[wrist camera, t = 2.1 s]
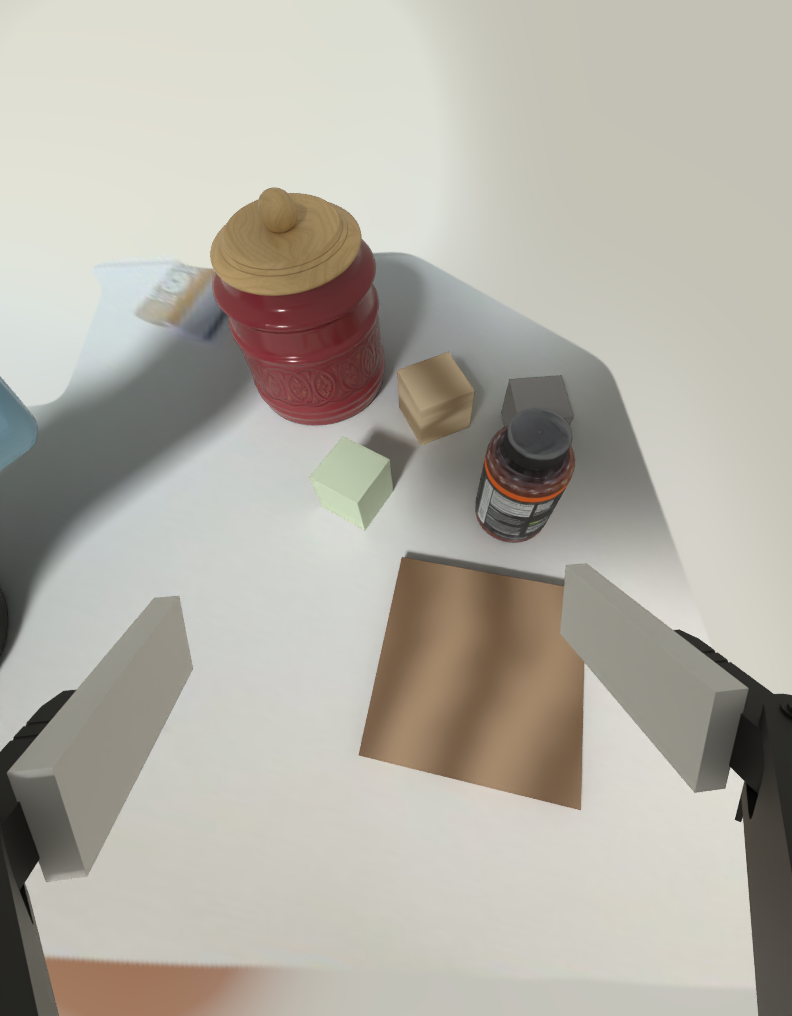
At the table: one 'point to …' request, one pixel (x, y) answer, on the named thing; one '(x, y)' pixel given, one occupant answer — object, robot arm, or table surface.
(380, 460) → the sage block
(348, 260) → the canister
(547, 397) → the grey block
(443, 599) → the plate
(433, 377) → the beech block
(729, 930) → the table surface
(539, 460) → the supplement bottle
